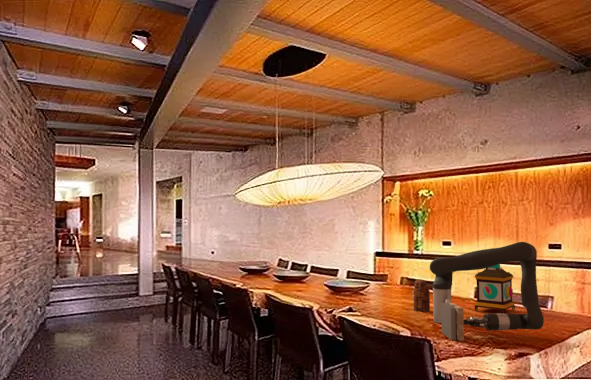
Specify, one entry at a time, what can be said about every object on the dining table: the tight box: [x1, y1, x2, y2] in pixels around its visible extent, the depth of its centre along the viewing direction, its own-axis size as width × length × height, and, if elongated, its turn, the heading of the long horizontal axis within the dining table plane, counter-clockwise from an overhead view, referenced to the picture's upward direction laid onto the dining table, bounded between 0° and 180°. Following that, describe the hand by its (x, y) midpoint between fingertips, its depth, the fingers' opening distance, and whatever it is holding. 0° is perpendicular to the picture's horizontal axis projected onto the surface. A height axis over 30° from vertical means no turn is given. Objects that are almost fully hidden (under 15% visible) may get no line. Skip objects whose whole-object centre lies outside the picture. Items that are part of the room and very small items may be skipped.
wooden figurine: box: [413, 279, 431, 313], centre depth 278 cm, size 12×6×18 cm, turn 33°
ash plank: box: [447, 301, 465, 342], centre depth 215 cm, size 16×2×14 cm, turn 179°
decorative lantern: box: [474, 263, 516, 314], centre depth 278 cm, size 20×20×30 cm
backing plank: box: [441, 299, 457, 341], centre depth 218 cm, size 17×5×15 cm, turn 0°
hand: (458, 322), depth 213 cm, fingers closed
